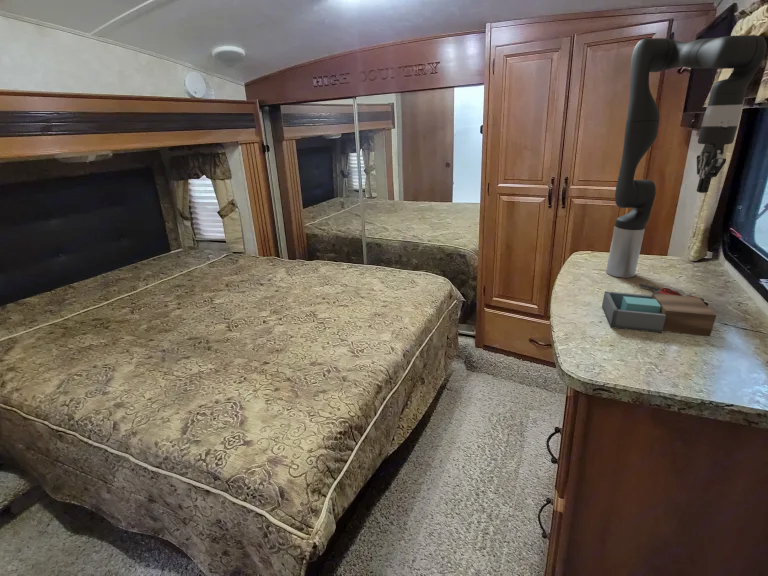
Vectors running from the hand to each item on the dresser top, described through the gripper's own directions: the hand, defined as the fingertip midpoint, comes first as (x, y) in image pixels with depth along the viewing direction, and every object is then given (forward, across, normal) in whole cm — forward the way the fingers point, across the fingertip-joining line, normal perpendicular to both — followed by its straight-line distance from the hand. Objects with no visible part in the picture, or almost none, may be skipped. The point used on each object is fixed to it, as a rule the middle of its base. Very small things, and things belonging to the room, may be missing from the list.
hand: (701, 192), depth 113 cm
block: (+30, +16, -9) cm, 35 cm away
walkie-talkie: (+34, -3, -1) cm, 34 cm away
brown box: (+33, +16, -4) cm, 37 cm away
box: (+33, +16, -15) cm, 40 cm away
